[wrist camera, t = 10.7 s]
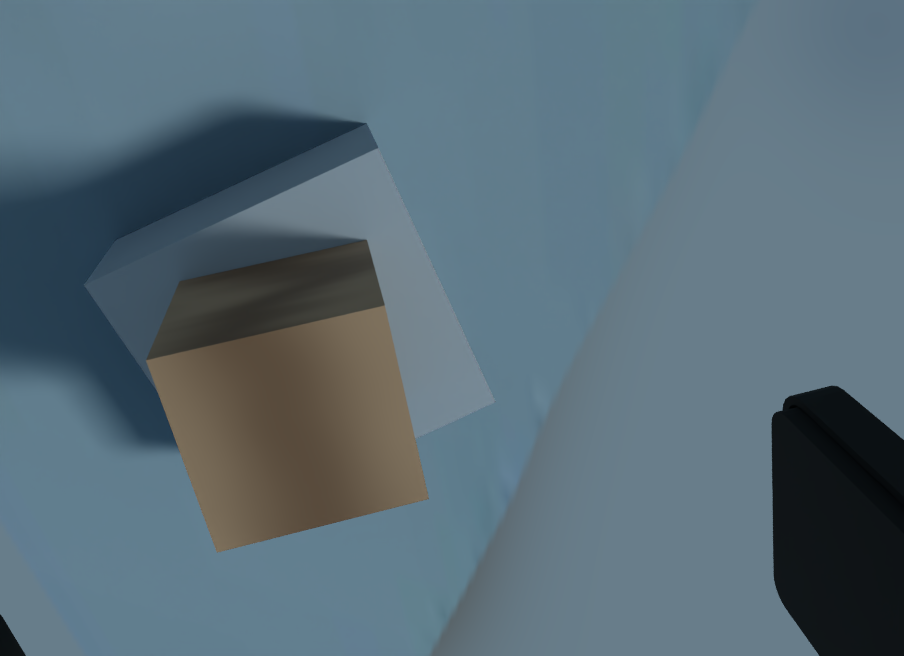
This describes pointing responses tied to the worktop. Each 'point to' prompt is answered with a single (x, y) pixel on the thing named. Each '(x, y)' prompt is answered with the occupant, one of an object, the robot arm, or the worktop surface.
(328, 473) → the walnut cube
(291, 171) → the base block
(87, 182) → the worktop surface
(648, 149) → the worktop surface
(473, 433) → the worktop surface
